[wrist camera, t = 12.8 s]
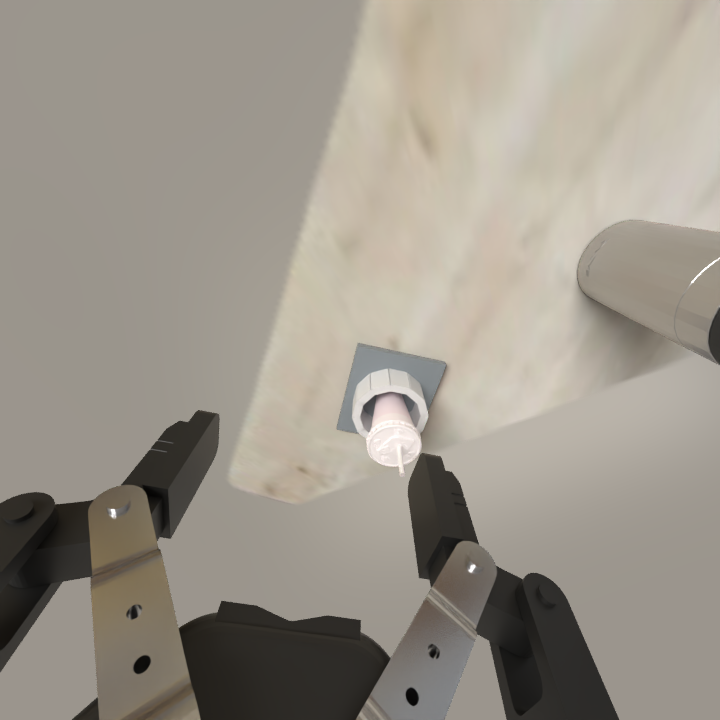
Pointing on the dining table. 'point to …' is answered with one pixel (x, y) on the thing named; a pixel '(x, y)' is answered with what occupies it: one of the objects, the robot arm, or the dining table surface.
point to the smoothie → (393, 433)
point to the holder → (388, 386)
